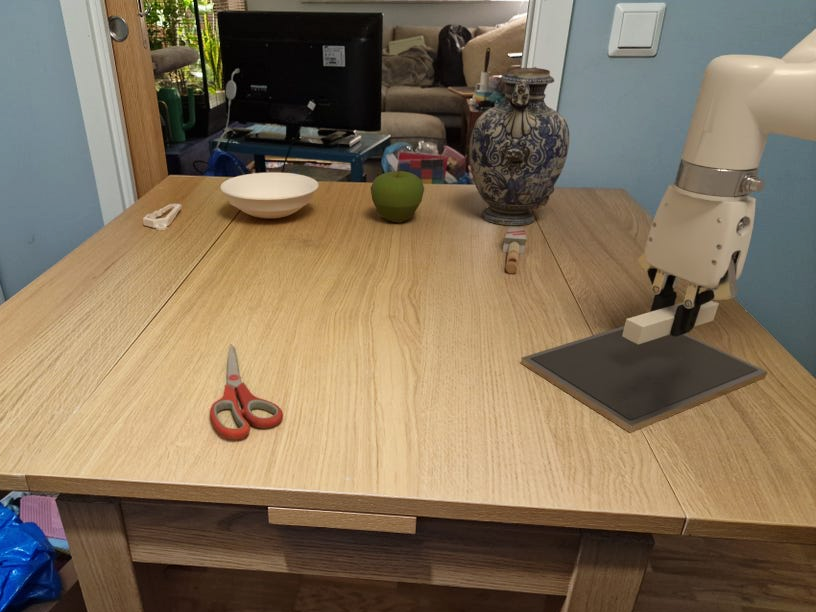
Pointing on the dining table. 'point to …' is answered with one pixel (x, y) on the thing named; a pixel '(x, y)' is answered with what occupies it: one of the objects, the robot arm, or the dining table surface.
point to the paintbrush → (514, 247)
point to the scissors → (246, 401)
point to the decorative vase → (518, 149)
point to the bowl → (269, 193)
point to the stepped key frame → (162, 222)
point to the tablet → (641, 375)
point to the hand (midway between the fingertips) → (669, 327)
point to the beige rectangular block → (662, 322)
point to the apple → (397, 195)
